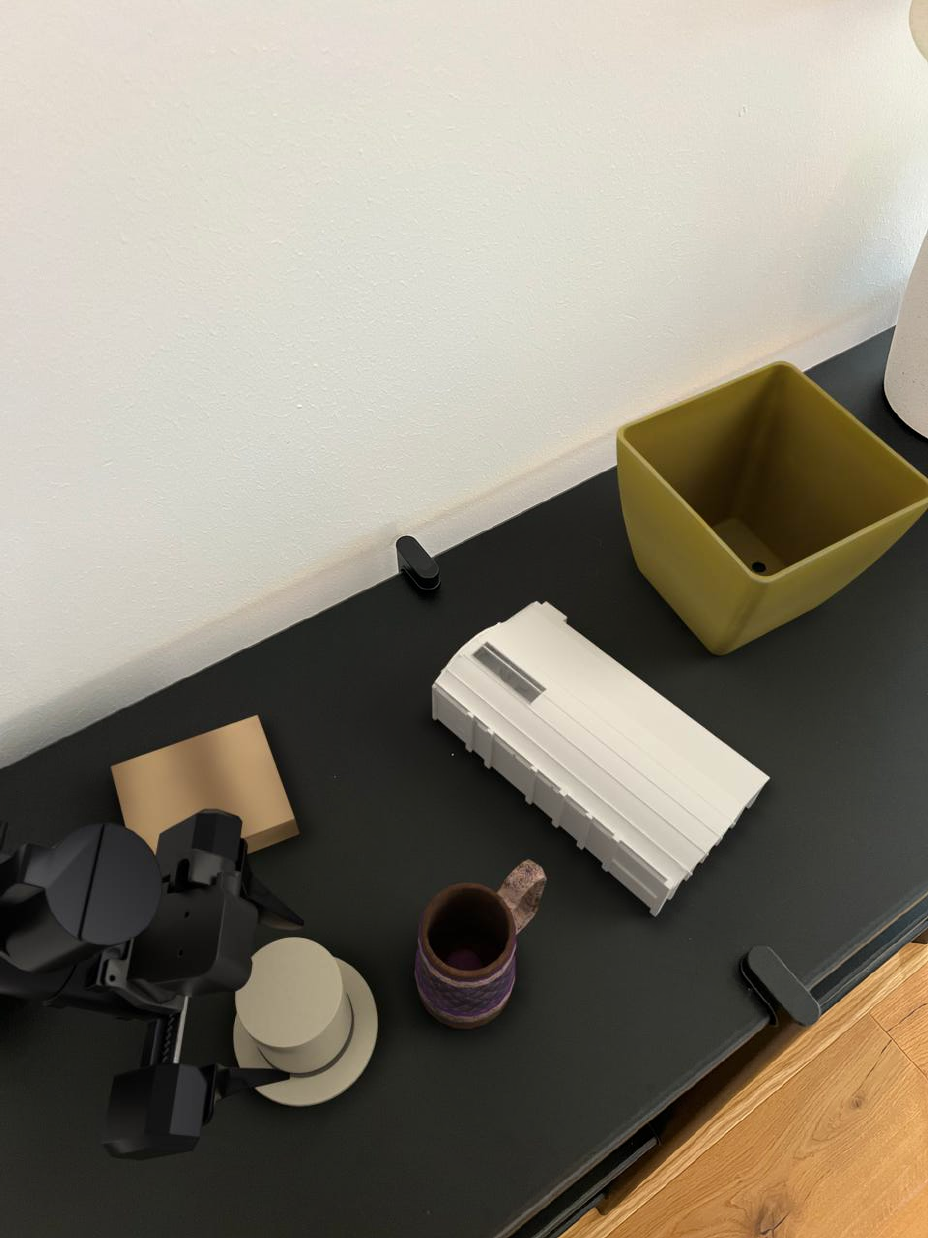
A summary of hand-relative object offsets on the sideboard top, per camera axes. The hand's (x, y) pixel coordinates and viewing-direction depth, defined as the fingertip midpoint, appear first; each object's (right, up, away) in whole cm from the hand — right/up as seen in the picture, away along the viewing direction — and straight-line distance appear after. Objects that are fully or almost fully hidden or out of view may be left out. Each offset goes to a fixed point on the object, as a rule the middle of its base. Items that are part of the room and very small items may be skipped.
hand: (293, 998), depth 60 cm
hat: (0, -5, +6) cm, 8 cm away
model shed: (+22, +13, +20) cm, 32 cm away
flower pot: (+36, +27, +30) cm, 54 cm away
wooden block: (-10, +9, +16) cm, 21 cm away
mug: (+12, -1, +9) cm, 15 cm away
